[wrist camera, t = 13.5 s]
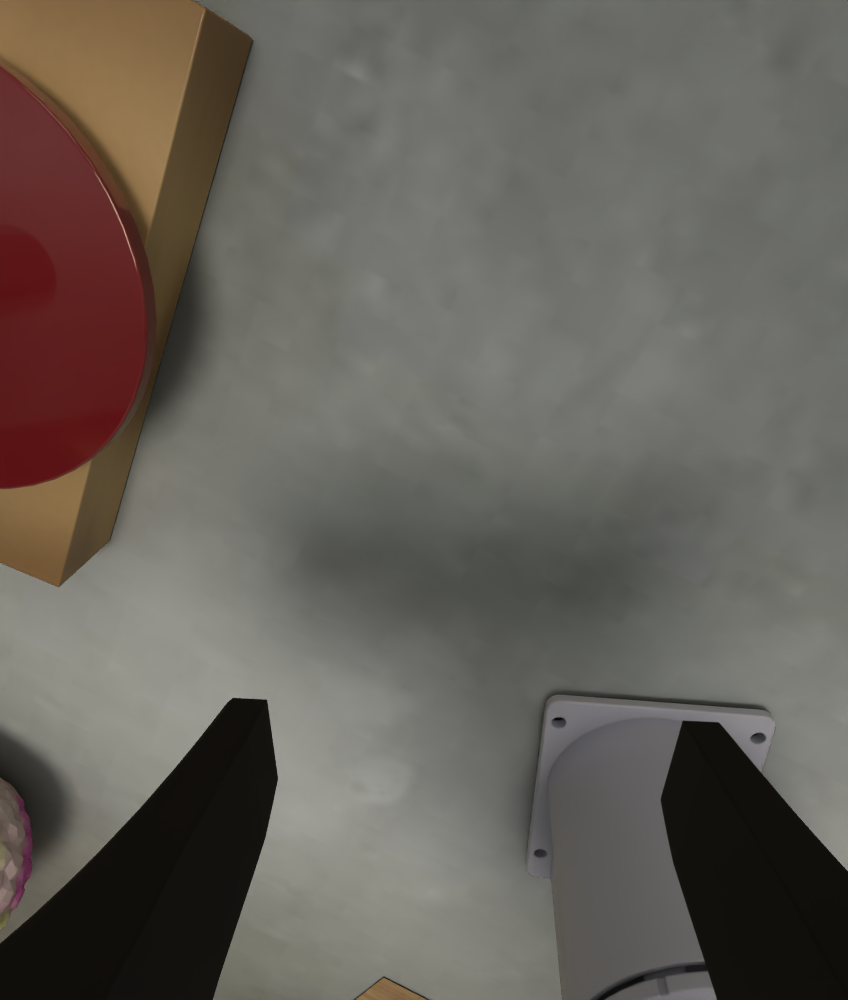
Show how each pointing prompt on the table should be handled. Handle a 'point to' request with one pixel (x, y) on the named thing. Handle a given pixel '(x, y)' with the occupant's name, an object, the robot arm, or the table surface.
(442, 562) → the table surface
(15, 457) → the lid
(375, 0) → the table surface
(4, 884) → the decorative item
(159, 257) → the wooden block
